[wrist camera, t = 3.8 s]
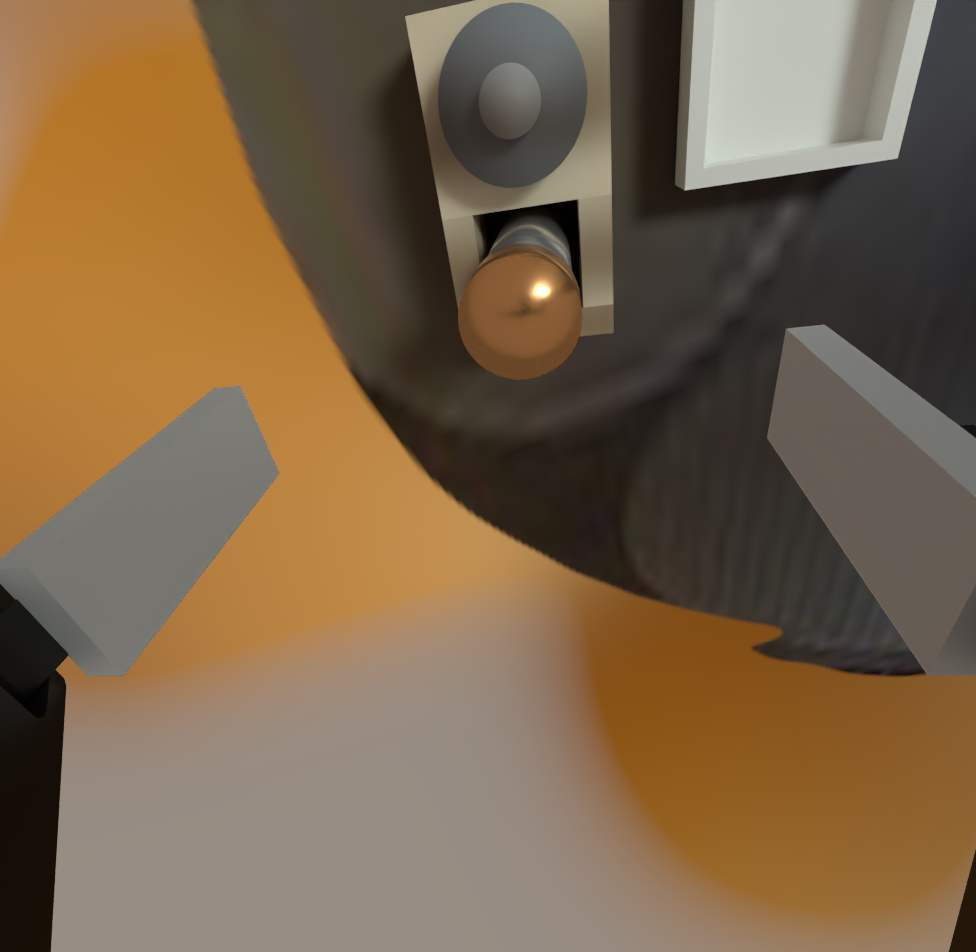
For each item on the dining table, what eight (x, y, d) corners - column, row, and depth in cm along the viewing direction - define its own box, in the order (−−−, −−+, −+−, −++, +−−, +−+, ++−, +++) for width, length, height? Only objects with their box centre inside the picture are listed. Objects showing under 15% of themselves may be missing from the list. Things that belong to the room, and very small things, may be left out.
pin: (488, 209, 28) (447, 265, 17) (570, 196, 27) (579, 247, 17) (499, 291, 30) (469, 384, 20) (574, 282, 30) (585, 373, 19)
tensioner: (425, 30, 24) (388, 5, 19) (600, -9, 23) (614, -48, 17) (474, 325, 32) (458, 367, 26) (607, 309, 30) (618, 351, 25)
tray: (685, -60, 22) (699, -78, 19) (929, -116, 20) (972, -143, 18) (674, 184, 26) (684, 190, 24) (869, 155, 25) (897, 158, 23)
